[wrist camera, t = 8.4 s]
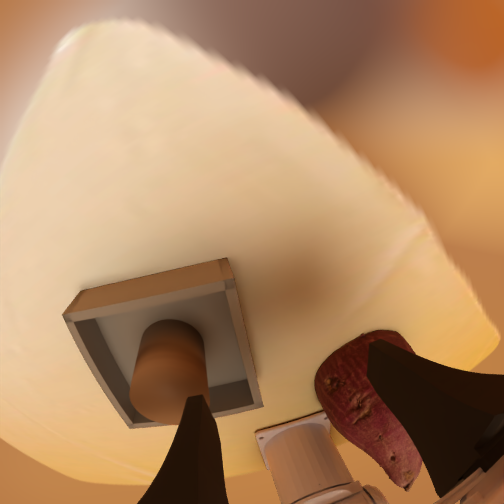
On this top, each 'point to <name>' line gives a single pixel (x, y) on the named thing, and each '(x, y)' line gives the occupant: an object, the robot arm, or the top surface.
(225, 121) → the top surface
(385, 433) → the vegetable
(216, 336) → the grey bin
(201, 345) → the walnut cylinder
